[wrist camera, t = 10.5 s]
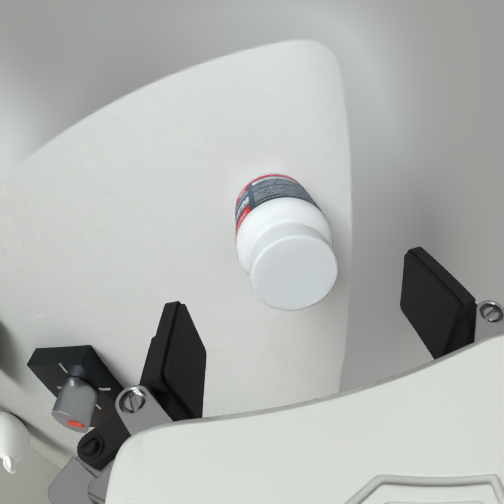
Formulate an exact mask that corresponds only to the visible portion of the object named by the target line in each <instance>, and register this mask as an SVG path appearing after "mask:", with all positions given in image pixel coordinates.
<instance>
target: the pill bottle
mask: <svg viewBox="0 0 504 504" xmlns="http://www.w3.org/2000/svg"><path fill="white" fill-rule="evenodd" d="M235 218H236V251H237V256H238V259H239V262H240V264H241V266H242V268H243V270H244V271H245V272H246V274H247V275H248V276H249V277H250V278H251V283H252V287H253V289H254V291H255V293H256V295H257V296H258V297H259V298H260V299H261V300H262V301H263V302H264V303H265V304H267V305H269V306H271V307H273V308H276V309H279V310H287V311H291V310H300V309H304V308H307V307H310V306H312V305H314V304H316V303H317V302H319V301H320V300H322V299H323V298H324V297H325V296H326V295H327V294H328V293H329V292H330V290H331V289H332V287H333V286H334V284H335V281H336V278H337V274H338V264H337V259H336V256H335V254H334V252H333V250H332V248H333V237H332V231H331V227H330V225H329V222H328V220H327V218H326V217H325V215H324V214H323V212H322V211H321V210H320V208H319V207H318V206H317V204H316V203H315V202H314V201H313V199H312V198H311V197H310V195H309V194H308V193H307V192H306V190H305V189H304V188H303V187H302V186H301V185H300V184H299V183H298V182H297V181H296V180H294V179H293V178H291V177H289V176H286V175H283V174H278V173H269V174H264V175H260V176H258V177H256V178H254V179H252V180H251V181H250V182H248V183H247V184H246V185H245V186H244V187H243V189H242V190H241V192H240V193H239V195H238V198H237V201H236V208H235Z"/></svg>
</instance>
